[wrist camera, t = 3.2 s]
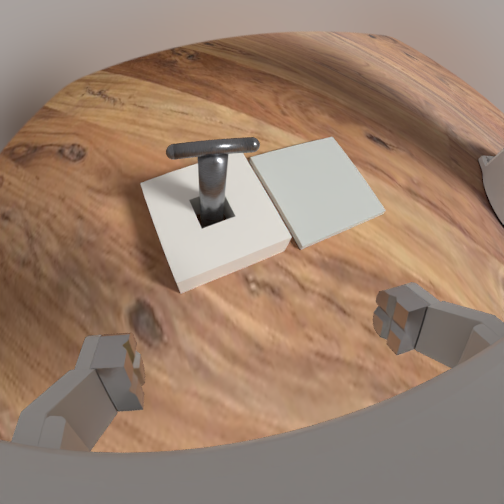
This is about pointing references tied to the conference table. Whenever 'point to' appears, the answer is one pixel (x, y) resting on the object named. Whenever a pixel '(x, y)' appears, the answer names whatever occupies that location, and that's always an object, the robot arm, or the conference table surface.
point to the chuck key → (212, 170)
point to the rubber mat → (316, 190)
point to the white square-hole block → (217, 235)
